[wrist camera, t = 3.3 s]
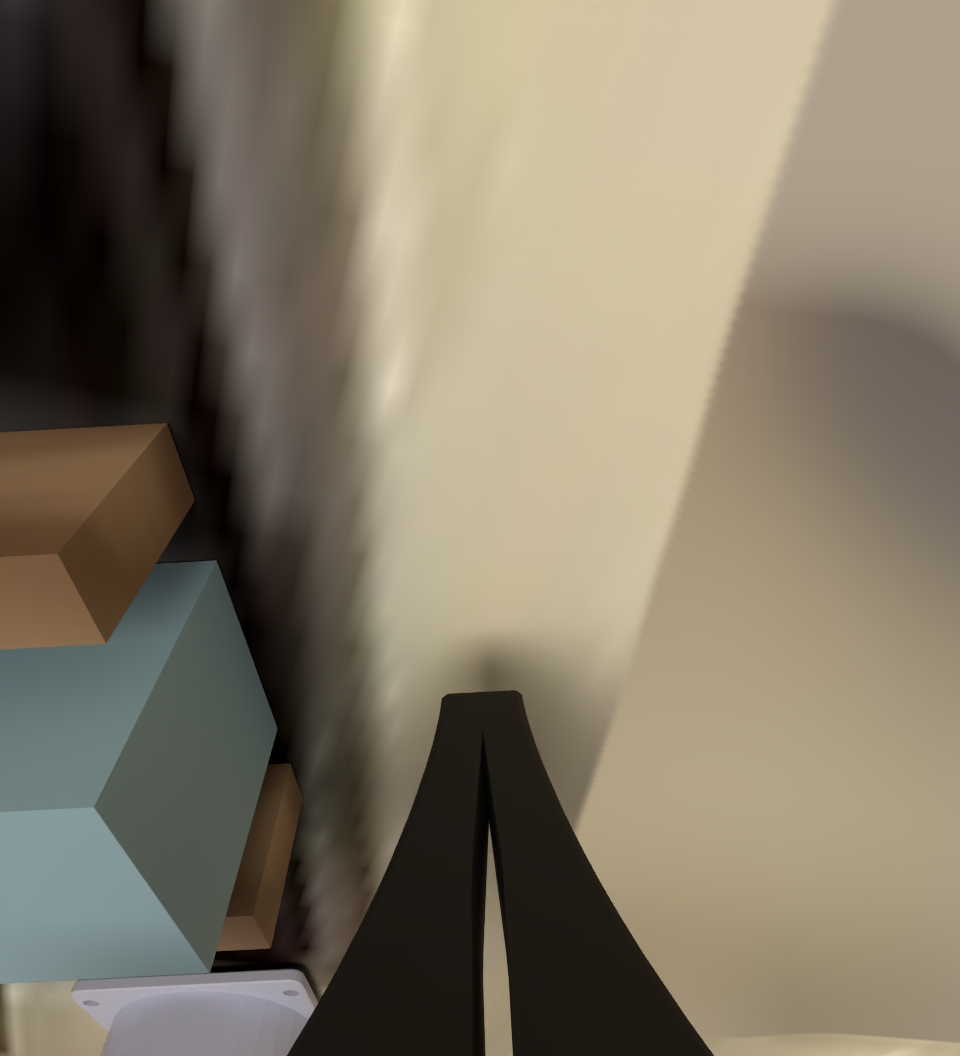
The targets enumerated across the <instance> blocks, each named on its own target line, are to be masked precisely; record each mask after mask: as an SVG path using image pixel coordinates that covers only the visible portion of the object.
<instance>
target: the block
mask: <svg viewBox="0 0 960 1056" xmlns="http://www.w3.org/2000/svg"><path fill="white" fill-rule="evenodd" d="M277 729H278V728H277V726H276V723H275V720H274V717H273V715H272V712H271V709H270V706H269V704H268V701H267V698H266V695H265V692H264V690H263V687H262V684H261V681H260V679H259V676H258V673H257V670H256V668H255V665H254V662H253V659H252V657H251V654H250V651H249V648H248V646H247V643H246V640H245V637H244V634H243V632H242V629H241V626H240V623H239V621H238V618H237V615H236V612H235V610H234V607H233V604H232V601H231V599H230V596H229V593H228V590H227V587H226V585H225V582H224V579H223V576H222V574H221V571H220V568H219V565H218V563H217V560H215V561H197V562H178V563H160V564H155V566H154V567H153V569H152V570H151V572H150V574H149V575H148V577H147V579H146V580H145V582H144V583H143V585H142V587H141V588H140V590H139V591H138V593H137V595H136V596H135V598H134V600H133V601H132V603H131V604H130V606H129V608H128V609H127V611H126V612H125V614H124V616H123V617H122V619H121V621H120V622H119V624H118V625H117V627H116V629H115V630H114V632H113V633H112V635H111V637H110V638H109V640H108V641H107V643H106V644H93V645H74V646H56V647H37V648H19V649H0V984H5V983H25V982H45V981H64V980H84V979H103V978H123V977H142V976H162V975H181V974H201V973H210V971H211V967H212V964H213V960H214V956H215V953H216V949H217V945H218V942H219V938H220V935H221V931H222V927H223V924H224V920H225V917H226V913H227V909H228V906H229V902H230V898H231V895H232V891H233V888H234V884H235V880H236V877H237V873H238V870H239V866H240V862H241V859H242V855H243V852H244V848H245V844H246V841H247V837H248V833H249V830H250V826H251V823H252V819H253V815H254V812H255V808H256V805H257V801H258V797H259V794H260V790H261V787H262V783H263V779H264V776H265V772H266V768H267V765H268V761H269V758H270V754H271V750H272V747H273V743H274V740H275V736H276V732H277Z"/></svg>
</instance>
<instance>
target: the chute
mask: <svg viewBox="0 0 960 1056" xmlns="http://www.w3.org/2000/svg"><path fill="white" fill-rule="evenodd" d="M194 501H195V499H194V496H193V494H192V491H191V488H190V485H189V482H188V480H187V477H186V474H185V471H184V469H183V466H182V463H181V460H180V458H179V455H178V452H177V449H176V447H175V444H174V441H173V438H172V436H171V433H170V430H169V427H168V424H167V423H159V424H141V425H123V426H105V427H87V428H70V429H52V430H34V431H16V432H0V649H19V648H37V647H56V646H74V645H93V644H106V643H107V641H108V640H109V638H110V637H111V635H112V633H113V632H114V630H115V629H116V627H117V625H118V624H119V622H120V621H121V619H122V617H123V616H124V614H125V612H126V611H127V609H128V608H129V606H130V604H131V603H132V601H133V600H134V598H135V596H136V595H137V593H138V591H139V590H140V588H141V587H142V585H143V583H144V582H145V580H146V579H147V577H148V575H149V574H150V572H151V570H152V569H153V567H154V566H155V564H156V562H157V561H158V559H159V558H160V556H161V554H162V553H163V551H164V549H165V548H166V546H167V545H168V543H169V541H170V540H171V538H172V537H173V535H174V533H175V532H176V530H177V528H178V527H179V525H180V524H181V522H182V520H183V519H184V517H185V516H186V514H187V512H188V511H189V509H190V508H191V506H192V504H193V503H194ZM302 800H303V797H302V795H301V792H300V789H299V786H298V784H297V781H296V778H295V775H294V773H293V770H292V767H291V764H290V763H288V764H269V765H267V768H266V772H265V776H264V779H263V783H262V787H261V790H260V794H259V797H258V801H257V805H256V808H255V812H254V815H253V819H252V823H251V826H250V830H249V833H248V837H247V841H246V844H245V848H244V852H243V855H242V859H241V862H240V866H239V870H238V873H237V877H236V880H235V884H234V888H233V891H232V895H231V898H230V902H229V906H228V909H227V913H226V917H225V920H224V924H223V927H222V931H221V935H220V938H219V942H218V945H217V949H216V951H227V950H246V949H266V948H271V944H272V939H273V934H274V930H275V925H276V920H277V916H278V911H279V906H280V902H281V897H282V893H283V888H284V883H285V879H286V874H287V869H288V865H289V860H290V855H291V851H292V846H293V841H294V837H295V832H296V828H297V823H298V818H299V814H300V809H301V804H302Z"/></svg>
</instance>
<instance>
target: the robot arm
mask: <svg viewBox="0 0 960 1056" xmlns="http://www.w3.org/2000/svg"><path fill="white" fill-rule="evenodd" d="M489 824H490V831H491V839H492V847H493V855H494V862H495V870H496V878H497V885H498V893H499V901H500V908H501V916H502V924H503V931H504V939H505V947H506V956H507V966H508V976H509V991H510V1009H511V1027H512V1045H513V1056H714V1055H713V1054H712V1052H711V1051H710V1050H709V1048H708V1047H707V1045H706V1044H705V1043H704V1041H703V1040H702V1038H701V1037H700V1036H699V1034H698V1033H697V1032H696V1030H695V1029H694V1027H693V1026H692V1025H691V1023H690V1022H689V1021H688V1019H687V1018H686V1016H685V1015H684V1013H683V1012H682V1010H681V1009H680V1007H679V1006H678V1004H677V1003H676V1002H675V1000H674V998H673V997H672V995H671V994H670V993H669V991H668V990H667V988H666V987H665V985H664V984H663V982H662V981H661V979H660V978H659V976H658V975H657V973H656V972H655V970H654V969H653V967H652V966H651V964H650V963H649V961H648V960H647V958H646V957H645V955H644V954H643V952H642V951H641V949H640V948H639V946H638V944H637V943H636V941H635V939H634V938H633V936H632V935H631V933H630V932H629V930H628V928H627V927H626V925H625V923H624V922H623V920H622V918H621V917H620V915H619V913H618V912H617V910H616V908H615V907H614V905H613V903H612V902H611V900H610V898H609V896H608V895H607V893H606V891H605V890H604V888H603V886H602V884H601V883H600V881H599V879H598V877H597V876H596V874H595V872H594V870H593V868H592V866H591V864H590V862H589V861H588V859H587V857H586V855H585V853H584V851H583V849H582V847H581V846H580V844H579V841H578V839H577V837H576V835H575V834H574V832H573V830H572V828H571V825H570V823H569V821H568V819H567V817H566V815H565V813H564V811H563V809H562V807H561V804H560V802H559V800H558V798H557V795H556V793H555V791H554V789H553V786H552V784H551V782H550V780H549V777H548V775H547V773H546V770H545V768H544V765H543V763H542V760H541V757H540V755H539V752H538V749H537V747H536V744H535V741H534V738H533V735H532V732H531V729H530V726H529V723H528V719H527V716H526V712H525V708H524V703H523V698H522V694H520V693H519V692H517V691H516V690H512V691H493V692H474V693H455V694H447V695H446V696H444V697H443V698H442V701H441V709H440V715H439V720H438V724H437V729H436V733H435V737H434V741H433V745H432V748H431V752H430V755H429V758H428V762H427V765H426V768H425V771H424V774H423V777H422V780H421V783H420V786H419V789H418V792H417V795H416V798H415V800H414V803H413V806H412V809H411V812H410V814H409V817H408V819H407V822H406V824H405V827H404V829H403V832H402V834H401V837H400V839H399V841H398V844H397V846H396V849H395V851H394V854H393V856H392V859H391V861H390V863H389V866H388V868H387V870H386V872H385V874H384V877H383V879H382V881H381V883H380V886H379V888H378V890H377V892H376V894H375V896H374V898H373V900H372V902H371V904H370V907H369V909H368V911H367V913H366V915H365V917H364V919H363V921H362V923H361V925H360V927H359V929H358V931H357V933H356V935H355V937H354V938H353V940H352V942H351V944H350V946H349V948H348V950H347V952H346V954H345V955H344V957H343V959H342V961H341V963H340V965H339V967H338V969H337V971H336V972H335V974H334V976H333V978H332V980H331V981H330V983H329V985H328V987H327V989H326V990H325V992H324V994H323V996H322V997H321V999H320V1001H319V1003H318V1001H317V999H316V997H315V995H314V993H313V991H312V989H311V987H310V985H309V983H308V981H307V979H306V977H305V975H304V974H303V973H302V972H301V971H299V970H296V969H270V970H251V971H231V972H212V973H201V974H181V975H162V976H142V977H123V978H103V979H84V980H79V981H77V982H75V984H74V986H73V989H72V991H71V993H70V996H71V998H72V999H73V1000H74V1001H75V1002H76V1003H77V1004H78V1005H79V1006H80V1007H82V1008H83V1009H84V1010H85V1011H86V1012H87V1013H88V1014H89V1015H90V1016H91V1017H92V1018H93V1019H94V1020H95V1021H96V1022H97V1023H98V1024H100V1025H101V1026H102V1027H103V1028H104V1029H105V1030H106V1031H107V1032H108V1036H107V1039H106V1041H105V1044H104V1047H103V1050H102V1052H101V1055H100V1056H485V1029H484V998H483V947H484V923H485V900H486V877H487V853H488V829H489Z"/></svg>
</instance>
